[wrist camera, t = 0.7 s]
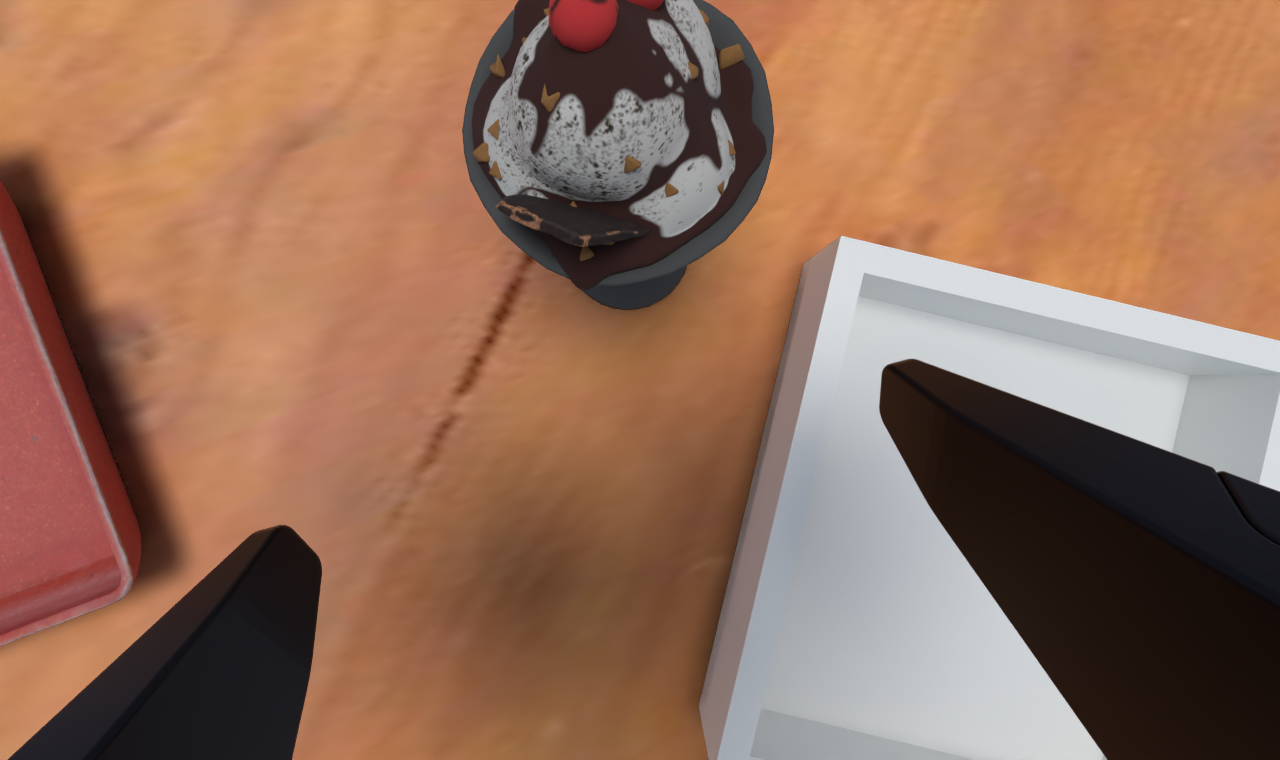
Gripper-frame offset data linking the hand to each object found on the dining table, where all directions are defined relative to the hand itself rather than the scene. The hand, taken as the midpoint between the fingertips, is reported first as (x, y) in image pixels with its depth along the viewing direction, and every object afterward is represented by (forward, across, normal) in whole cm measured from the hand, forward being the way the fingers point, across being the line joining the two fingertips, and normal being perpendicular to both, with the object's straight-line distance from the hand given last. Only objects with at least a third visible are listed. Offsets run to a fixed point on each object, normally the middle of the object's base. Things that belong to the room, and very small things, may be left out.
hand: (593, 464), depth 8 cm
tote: (+6, -11, +14) cm, 19 cm away
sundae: (+15, -2, +3) cm, 15 cm away
